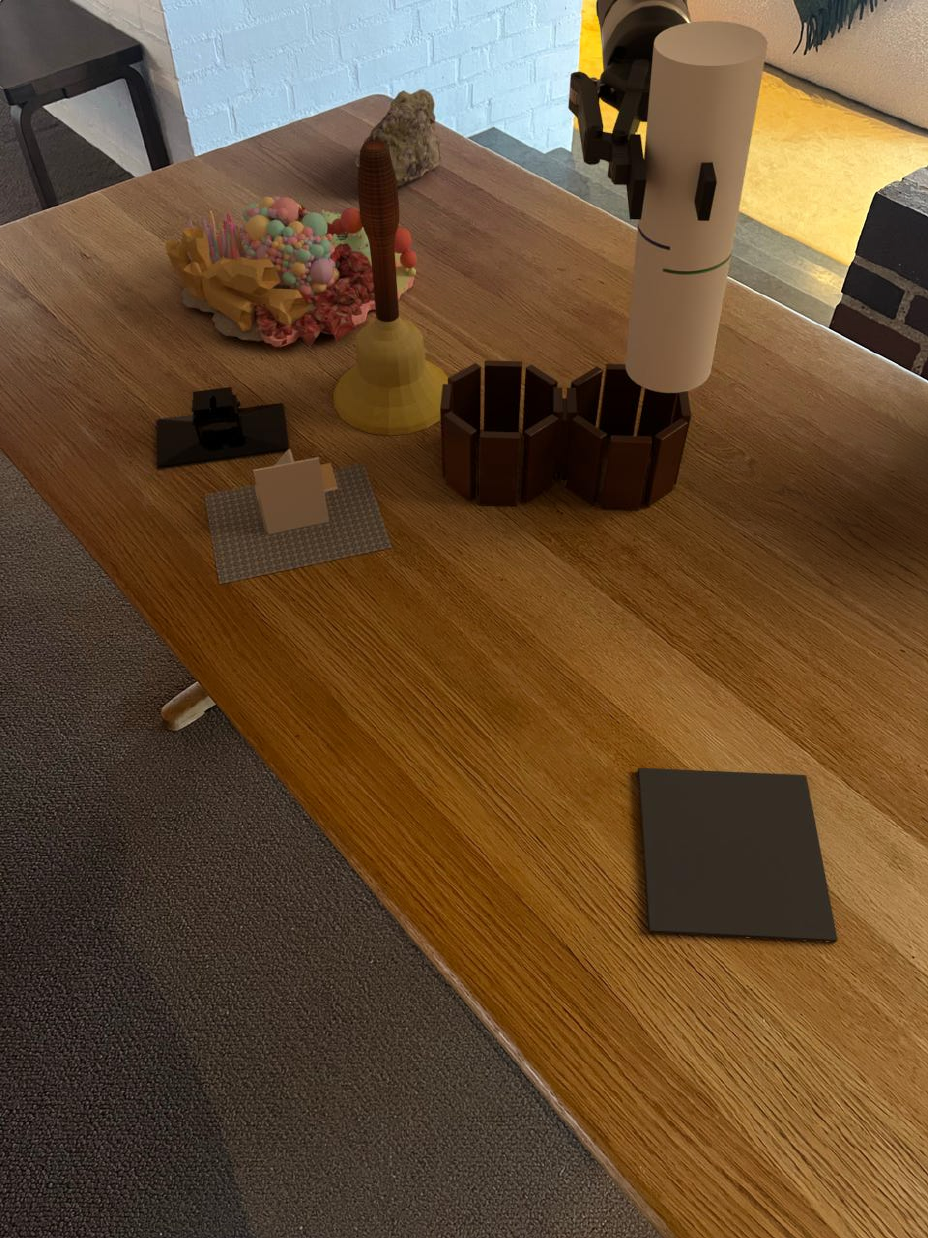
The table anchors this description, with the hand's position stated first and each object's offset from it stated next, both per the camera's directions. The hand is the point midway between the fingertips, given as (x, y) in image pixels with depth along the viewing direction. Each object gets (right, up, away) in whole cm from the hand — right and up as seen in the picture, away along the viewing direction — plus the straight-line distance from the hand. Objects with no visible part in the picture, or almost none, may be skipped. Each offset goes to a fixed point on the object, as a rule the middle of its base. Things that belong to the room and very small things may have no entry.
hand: (672, 200), depth 64 cm
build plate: (-37, -10, +29) cm, 49 cm away
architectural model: (-29, -19, +22) cm, 41 cm away
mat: (+4, -44, +2) cm, 44 cm away
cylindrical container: (+3, -7, +18) cm, 19 cm away
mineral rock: (-23, +30, +61) cm, 72 cm away
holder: (-5, -14, +26) cm, 30 cm away
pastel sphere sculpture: (-33, +10, +46) cm, 57 cm away
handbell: (-21, -5, +33) cm, 40 cm away
